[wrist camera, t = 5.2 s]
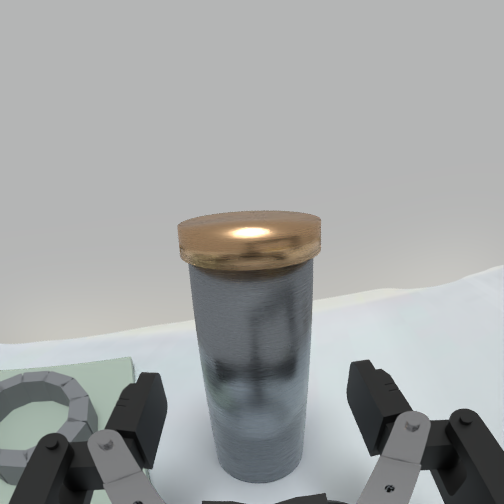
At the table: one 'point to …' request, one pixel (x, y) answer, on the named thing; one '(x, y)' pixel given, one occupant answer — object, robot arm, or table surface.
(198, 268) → the copper lidded jar
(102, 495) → the green base with ring
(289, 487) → the table surface
